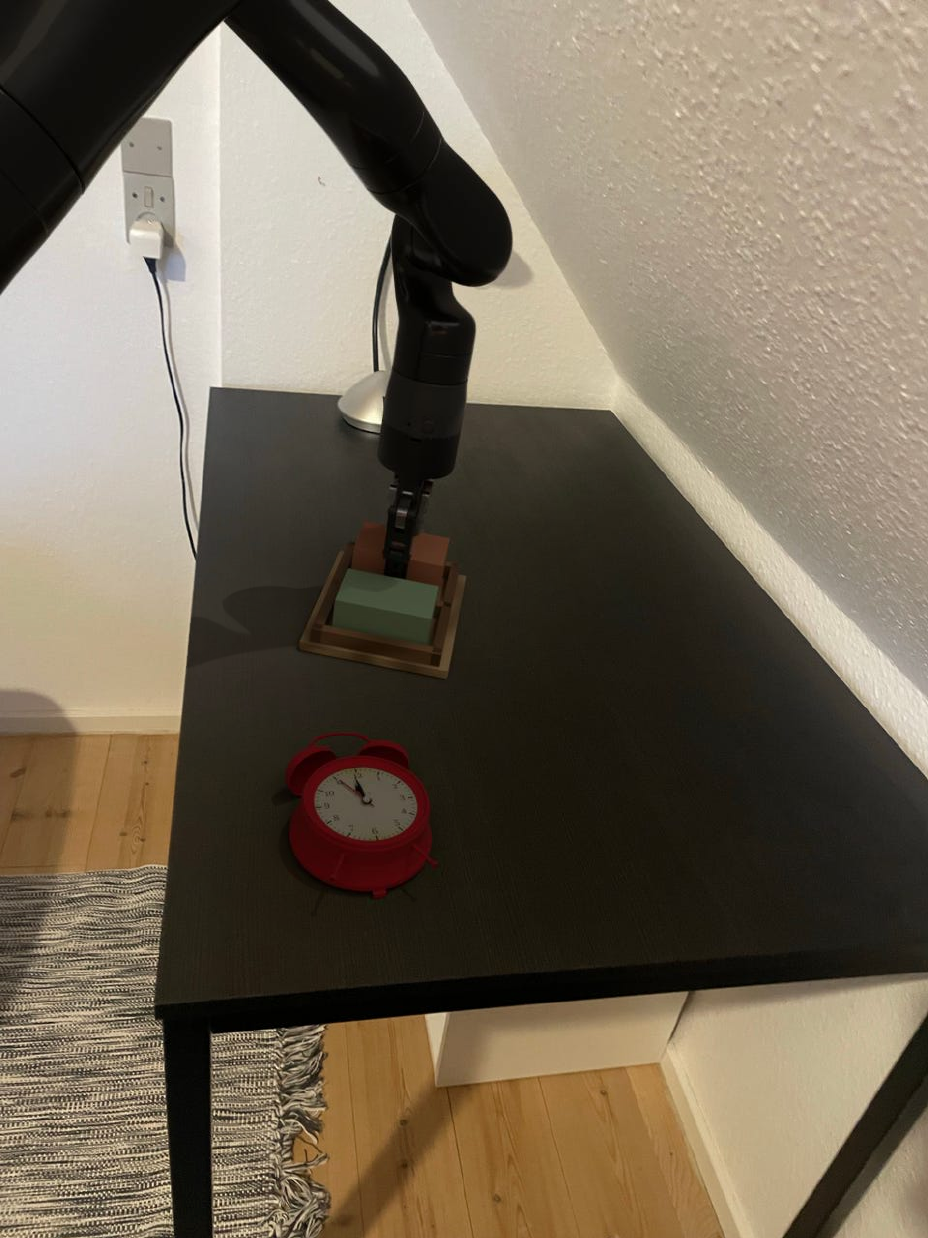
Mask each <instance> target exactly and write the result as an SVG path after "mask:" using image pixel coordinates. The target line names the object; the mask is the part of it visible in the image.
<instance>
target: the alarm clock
mask: <svg viewBox="0 0 928 1238" xmlns="http://www.w3.org/2000/svg"><path fill="white" fill-rule="evenodd" d="M338 736H349V737H351V736H352V737H356V738H361V739H362V740H365V741H366V742H367V743H365V744H364V745H362V746H361V748H360V749H359V751H358V753H357V754H356V755H350V756H344V757H339V758H337V754H336V753H335V752H334V751H333V750H332V749H331V748H330V747H328V746H325V745H314V744H315V743H317V742H318V741H320V740H323V739H327V738H330V737H338ZM409 769H410V759H409V754H408V753H407V751H406V749H405V748H403V746H401V744H398V743H396V742H394V741H391V740H387V739H375V740H371V739H370V738H369V737H368V736H366V735H363V734H361V733H357V732H347V731H340V732H331V733H325V734H322V735H318V736H316V737H315V738H313V739H311V741H310V742H309V744H308V747H306V748H304V749H302V750H301V751H299V752H298V753H296V754H295V755H294V756H293V757H292V758H291V760H290V761H289V762H288V764H287V767H286V769H285V783H286V786H287V788H288V789H289V791H290V792H291V793H292V794H293V795H295V796H300V803H299V804H298V806H297V807H296V808H295V810H294V812H293V814H292V816H291V818H290V822H289V829H288V830H289V831H288V839H289V844H290V847H291V851H292V854H293V855H294V856H295V859H296V860H297V861H298V863H299V864H300V865H301V867H303V868H304V869H305V870H306V871H307V872H308V873H310V875H312V876H313V877H315V878H317V879H318V880H320V881H321V882H323V883H326V884H327V885H331V886H334V887H336V888H339V889H343V890H348V891H355V892H372V894H373V896H372V899H373V900H374V899H381V898H386V897H387V894H388V891H387V890H386V889H391V888H394V887H397V886H399V885H401V884H403V883H405V882H407V881H409V880H410V879H412V878H413V877H414V876H415V875H417V874H418V873H419V872H420V871H421V870H422V869H423V867H424V866H425V865H426V863H427V861H428V862H429V863H430V864H431V868H432V869H433V868H434V869H435V868H437V867H438V866H439V863H438V861H436V860H433V859H432V858H431V857H429V856H430V854H431V849H432V844H433V833H432V828H431V825H430V822H429V821H430V816H431V803H430V799H429V794H428V792H427V789H426V787H425V786H424V784H423V783H422V781H421V780H420V779H419V778H418V777H417V776H416V775H415V774H414V773H413V772H412V771H410V770H409Z"/></svg>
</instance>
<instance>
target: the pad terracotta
mask: <svg viewBox="0 0 928 1238" xmlns="http://www.w3.org/2000/svg"><path fill="white" fill-rule="evenodd" d="M385 536H386V529H385V524H382V523H377V522H372V521H367V520H365V521H364V522H363V523H362V527H361V529H360V532H359V534H358V536H357V539H356V540H355V542H356V543H355V546H354V549H353V556H352V564H351V569H354V570H359V571H364V572H369V573H374V574H379V575H384V569H385V562H386V559H383V555H382V551H383V550H384V543H385ZM450 541H451V538H450V537H445V536H440V535H435V534H431V533H426V532H422V531H421V532H420V534H419V535H418V536H416V537H415V538H414V541H413V546H412V551H411V552H413V553H412V557H410V560H409V563H408V569H407V575H406V580H409V581H414V582H419V583H424V584H429V585H434V586H438V587H439V589H440V585H441V580H442V576H443V572H444V567H445V562H446V561H447V557H448V556H447V555H448V550H449V545H450ZM393 544H394V545H399V546H404V547H405V545H404V544H402V543H398V542H393ZM439 589H438V593H439ZM437 597H438V594H437Z"/></svg>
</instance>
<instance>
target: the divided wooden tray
mask: <svg viewBox="0 0 928 1238" xmlns="http://www.w3.org/2000/svg"><path fill="white" fill-rule="evenodd" d="M355 543H356V541H350V540H348V543H347V545H346V547H345V549H344V550H339V552H338V554H337V555H336V558H335V560H334V563H333V565H332V567H331V570H330V572H329V574H328V577H327V578H326V580H325V583H324V585H323V588H322V590H321V592H320V594H319V597H318V598H317V601H316V603H315V606H314V608H313V610H312V613H311V615H310V617H309V619H308V621H307V624H306V625H305V629H304V631H303V633H302V635H301V636H300V640H299V643H298V650H299V651H303V652H308V653H313V654H316V655H317V654H318V655H324V656H326V657H327V656H329V657H333V658H338V659H343V660H347V661H353V662H357V663H362V664H367V665H373V666H378V667H383V668H387V669H393V670H398V671H401V672H402V671H403V672H407V673H411V674H418V675H422V676H427V677H432V678H437V679H442V680H447V679H448V676H449V671H450V665H451V660H452V655H453V650H454V645H455V639H456V635H457V628H458V625H459V624H458V623H459V619H460V612H461V607H462V604H463V603H462V602H463V598H464V593H465V587H466V582H467V575H464V574H460V569H461V563H459V562H456V561H455V562H454V561H449V560H446V562H445V567H444V572H443V576H442V580H441V585H440V589H439V593H438V597H437V600H436V605H435V610H434V616H433V621H432V625H431V629H430V634H429V638H428V642H427V645H422V644H417V643H412V642H407V641H402V640H397V639H392V638H387V637H382V636H377V635H372V634H367V633H362V632H357V631H353V630H348V629H343V628H338V627H333V626H332V621H333V613H334V604H335V599H336V596H337V594H338V591H339V589H340V587H341V584H342V582H343V579H344V577H345V574H346V572H347V570H348V568H349V569H351V564H352V556H353V549H354V546H355Z"/></svg>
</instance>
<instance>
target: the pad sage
mask: <svg viewBox="0 0 928 1238" xmlns="http://www.w3.org/2000/svg"><path fill="white" fill-rule="evenodd" d="M438 589H439V587H438V586H434V585H429V584H424V583H419V582H414V581H409V580H404V579H399V578H394V577H389V576H384V575H379V574H374V573H369V572H364V571H359V570H354V569H349V568H348V570H347V572H346V574H345V577H344V579H343V582H342V584H341V587H340V589H339V591H338V594H337V596H336V599H335V604H334V613H333V621H332V626H333V627H338V628H343V629H348V630H353V631H357V632H362V633H367V634H372V635H377V636H382V637H387V638H392V639H397V640H402V641H407V642H412V643H417V644H422V645H427V642H428V638H429V634H430V629H431V625H432V621H433V616H434V610H435V605H436V600H437V594H438Z"/></svg>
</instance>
